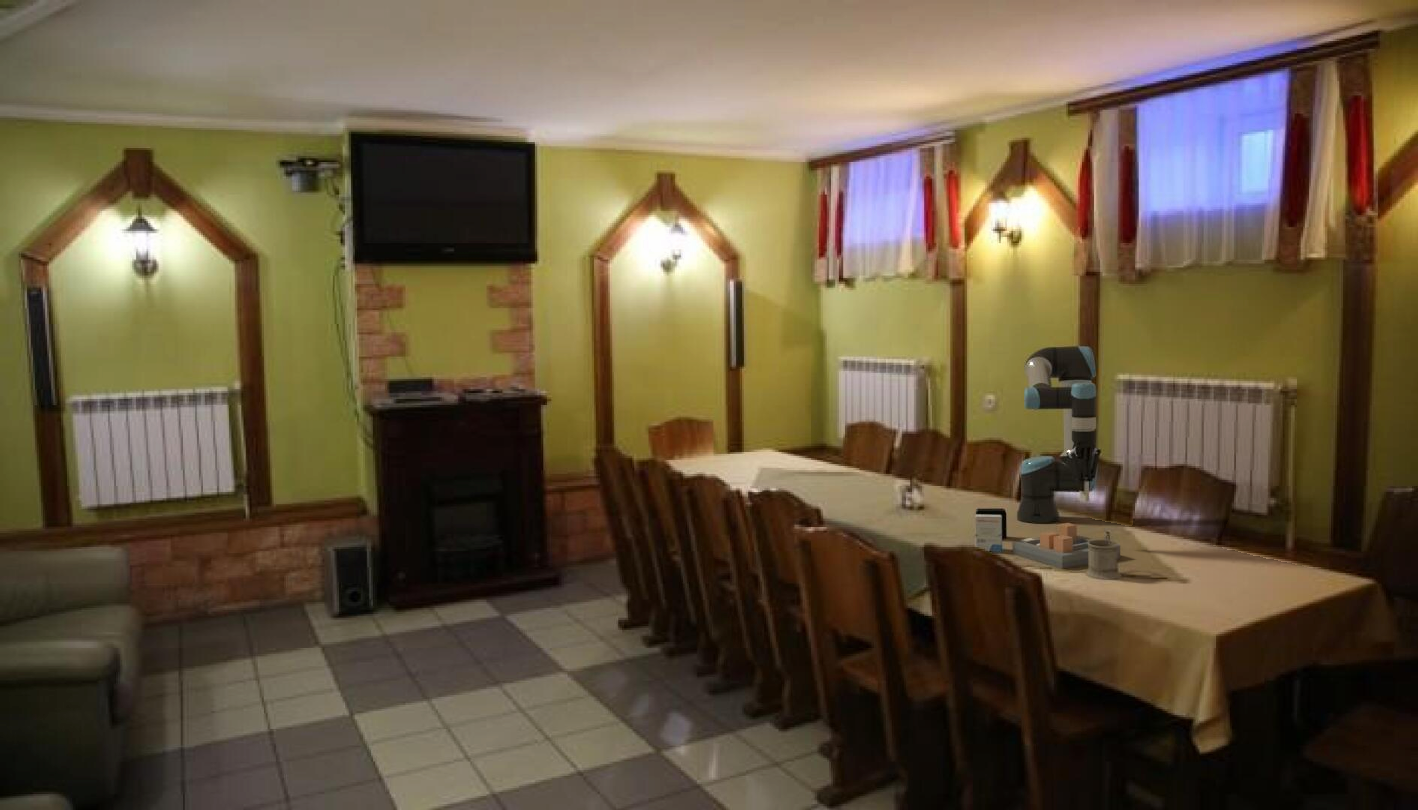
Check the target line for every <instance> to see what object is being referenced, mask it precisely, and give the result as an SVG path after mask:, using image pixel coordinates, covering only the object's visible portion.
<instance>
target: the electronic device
mask: <svg viewBox="0 0 1418 810" xmlns="http://www.w3.org/2000/svg"><path fill="white" fill-rule="evenodd" d="M976 514H981V515H1002V540H1005V539H1007V537H1008V536H1007V535H1008V534H1007V532H1008V531H1007V530H1008V529H1007V512H1006V509H1005V508H991V507H989V508H984V507H983V508H981V507H980V508H976V509H975V515H976Z"/></svg>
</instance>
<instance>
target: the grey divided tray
mask: <svg viewBox="0 0 1418 810" xmlns="http://www.w3.org/2000/svg"><path fill="white" fill-rule="evenodd" d="M1092 540H1098V539H1096V538H1092V537H1088V536H1086V535H1081V534H1077V538H1074V539H1073V551H1072V552H1066V553H1062V552H1058V551H1054V548H1052V549H1047V548H1044V547H1040V536H1039V537H1034V538H1031V537H1030V538H1024V539H1020V540H1015V541H1012V545H1011V546H1012V547H1011V548H1012V555H1015V556H1019V557H1021V558H1025V559H1029V560H1031V561H1035V562H1039V563H1042V564H1045V565H1047V566H1052V567H1054V568H1058V569H1061V570H1064V569H1070V568H1074V567H1079V566H1085V565H1086V566H1087V565H1089V546H1088V542H1089V541H1092ZM1118 559H1121V545H1120V544H1119V546H1118Z"/></svg>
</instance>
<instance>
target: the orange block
mask: <svg viewBox="0 0 1418 810" xmlns="http://www.w3.org/2000/svg"><path fill="white" fill-rule="evenodd" d="M1054 551H1058V552H1062V553H1066V552H1072V551H1073V538H1072V537H1069V536H1065V535H1061V536H1055V537H1054Z"/></svg>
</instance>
